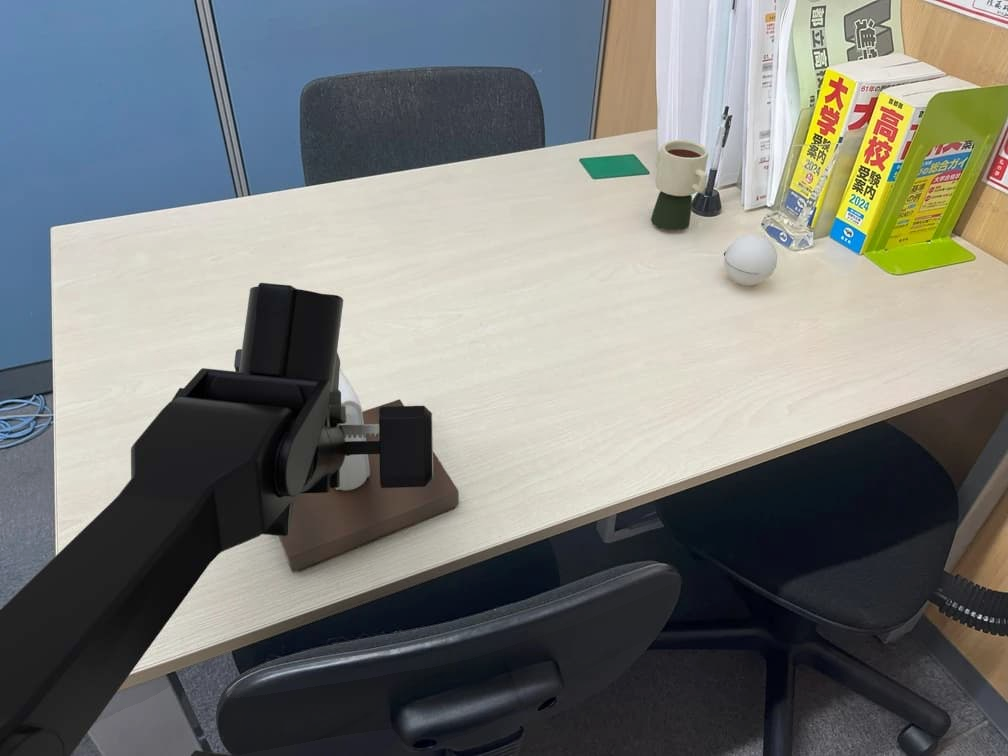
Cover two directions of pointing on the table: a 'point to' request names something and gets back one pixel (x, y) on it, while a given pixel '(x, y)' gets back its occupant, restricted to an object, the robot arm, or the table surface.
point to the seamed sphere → (750, 259)
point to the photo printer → (352, 439)
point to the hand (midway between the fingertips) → (328, 446)
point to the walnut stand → (362, 511)
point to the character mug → (678, 182)
